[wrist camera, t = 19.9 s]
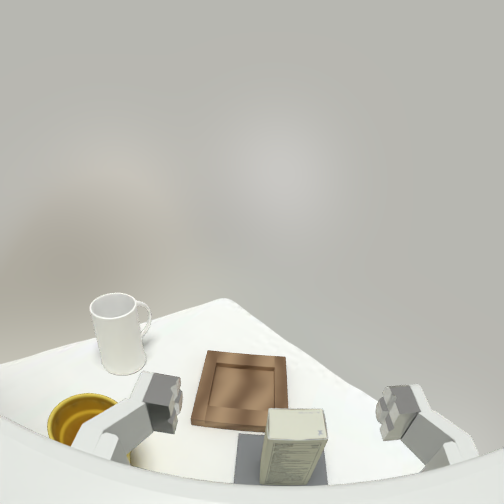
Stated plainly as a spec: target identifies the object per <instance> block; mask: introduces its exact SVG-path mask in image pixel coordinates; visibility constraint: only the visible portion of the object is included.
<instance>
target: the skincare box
mask: <svg viewBox="0 0 504 504" xmlns="http://www.w3.org/2000/svg"><path fill="white" fill-rule="evenodd" d="M327 440H328V433H327V425H326V419H325V414H324V410H323V409H285V408H283V409H281V408H269V409H268V416H267V423H266V429H265V436H264V443H263V449H262V455H261V463H260V484H262V485H306V484H307V483H308V481H309V479H310V477H311V475H312V473H313V471H314V469H315V467H316V465H317V462H318V460H319V458H320V456H321V454H322V452H323V449H324V447H325V445H326V443H327Z"/></svg>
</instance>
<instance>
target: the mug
mask: <svg viewBox="0 0 504 504" xmlns="http://www.w3.org/2000/svg"><path fill="white" fill-rule="evenodd" d="M137 306H143V307H145V308H146V309H147V311H148V321H147V324H146V326H145V328H144V329H143V330H142V331H140V324H139V318H138V311H137ZM90 313H91V317H92V322H93V326H94V330H95V334H96V338H97V342H98V346H99V350H100V354H101V358H102V365H103V367H104V368H105V369H106V370H107V371H108V372H110V373H112V374H115V375H130V374H133V373H135V372H137V371H139V370H140V369H141V368H142V367H143V366H144V364H145V362H146V354H145V352H144V349H143V343H142V337H143V336H144V335H145V334H146V333H147V331H148V329H149V327H150V325H151V320H152V314H151V310H150V308H149V307H148V306H147V305H146V304H145V303H144V302H141V301H136V300H135V299H134V298H133V297H132V296H130V295H128V294H124V293H109V294H105V295H102V296H100V297H98V298H96V299H95V300H94V301H93V302H92V303H91V305H90Z"/></svg>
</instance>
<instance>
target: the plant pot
mask: <svg viewBox="0 0 504 504" xmlns="http://www.w3.org/2000/svg"><path fill="white" fill-rule="evenodd" d="M115 404H117V402H116V401H115V400H113V399H111V398H109V397H107V396H104V395H100V394H94V393H84V394H78V395H74V396H71V397H69V398H67V399H65V400H63V401H62V402H60V403H59V404H58V405H57V406H56V407H55V408H54V409H53V411H52V412H51V414H50V416H49V419H48V425H47V430H48V435H49V438H50V439H53V440H55V441H57V442H60V443H62V444H65V445H68V446H70V447H71V445H72V443H73V441H74V439H75V437H76V435H77V433H78V431H79V429H80V427H81V425H82V424H83V423H85V422H87V421H88V420H90V419H92V418H93V417H95V416H97V415H99V414H100V413H102V412H104V411H105V410H107V409H109V408H110V407H112V406H114V405H115ZM130 453H131V451H130V452H129V453H128V454H127V455H126V456H127V458H128V460H129V462H130Z"/></svg>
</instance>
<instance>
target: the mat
mask: <svg viewBox="0 0 504 504" xmlns="http://www.w3.org/2000/svg"><path fill="white" fill-rule="evenodd" d="M264 436H265V435H252V434H240V433H239V437H238V447H237V457H236V467H235V477H234V484H244V485H261V486H319V485H328V481H327V472H326V463H325V455H324V449H323V452H322V454H321V456H320V458H319V460H318V462H317V465H316V467H315V469H314V471H313V473H312V475H311V477H310V479H309V481H308V483H307V484H306V485H262V484H260V463H261V455H262V449H263V443H264Z"/></svg>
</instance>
